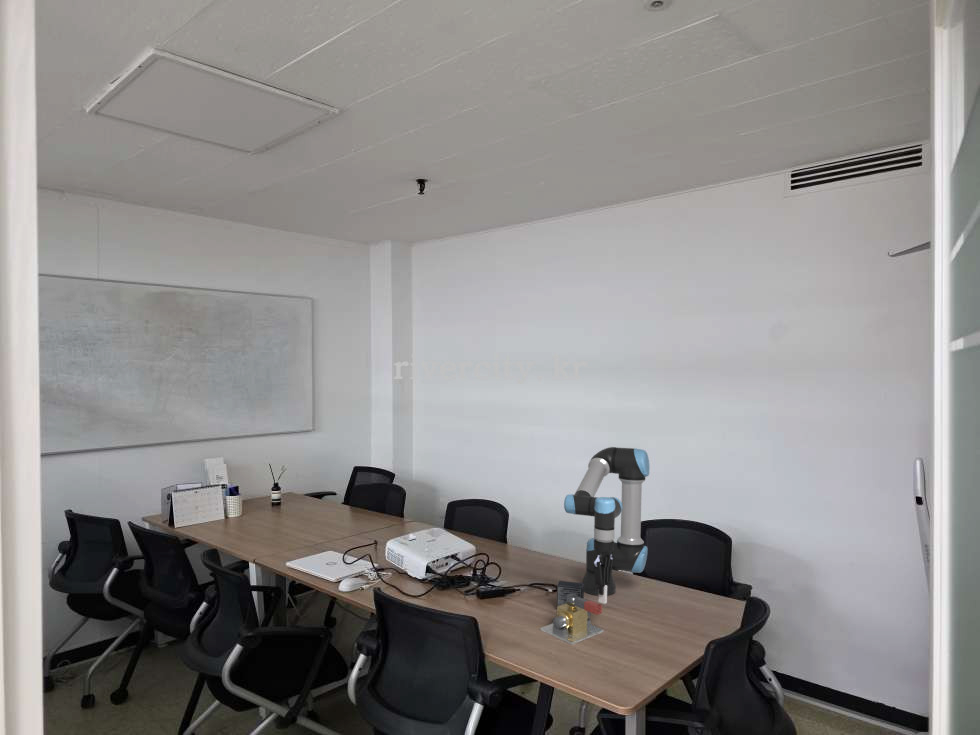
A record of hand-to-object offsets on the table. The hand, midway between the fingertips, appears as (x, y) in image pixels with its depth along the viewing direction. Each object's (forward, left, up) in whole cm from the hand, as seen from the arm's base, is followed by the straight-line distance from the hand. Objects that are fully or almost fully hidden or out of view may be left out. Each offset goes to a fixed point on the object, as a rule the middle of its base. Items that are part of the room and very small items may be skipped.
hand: (602, 602), depth 235 cm
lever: (+6, -4, -2) cm, 8 cm away
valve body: (+6, -9, -12) cm, 17 cm away
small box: (-10, -24, -12) cm, 29 cm away
